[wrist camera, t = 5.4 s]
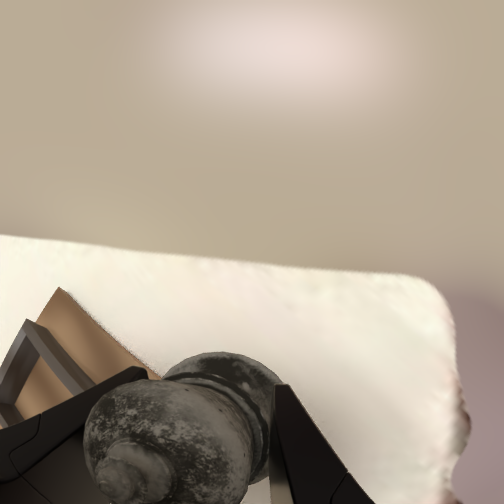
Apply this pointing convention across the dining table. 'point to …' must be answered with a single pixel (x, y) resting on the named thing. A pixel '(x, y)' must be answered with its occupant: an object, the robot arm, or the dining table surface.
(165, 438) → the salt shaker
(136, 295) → the dining table surface
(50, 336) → the collar holder
